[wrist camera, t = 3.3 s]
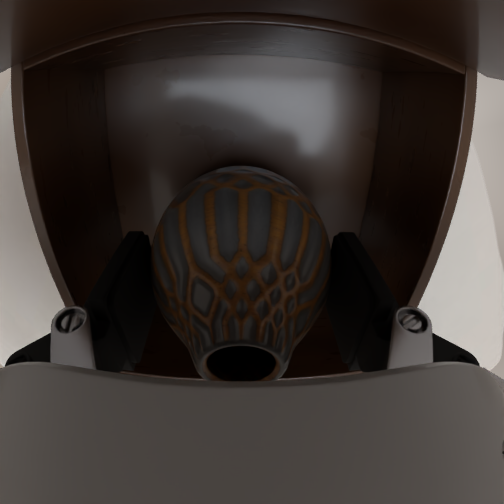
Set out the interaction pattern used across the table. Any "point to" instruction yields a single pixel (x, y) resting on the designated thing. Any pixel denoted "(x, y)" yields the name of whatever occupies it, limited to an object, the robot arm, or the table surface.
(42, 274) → the table surface
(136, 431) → the robot arm
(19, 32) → the chest lid
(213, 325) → the vase
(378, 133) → the chest
